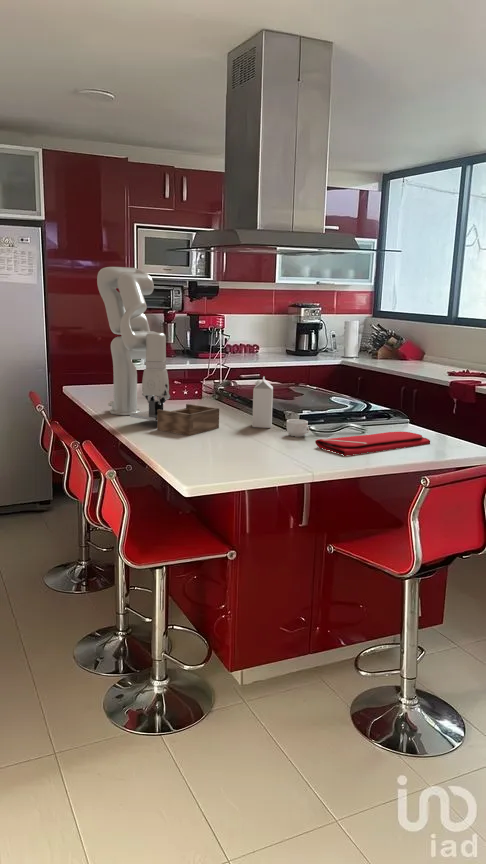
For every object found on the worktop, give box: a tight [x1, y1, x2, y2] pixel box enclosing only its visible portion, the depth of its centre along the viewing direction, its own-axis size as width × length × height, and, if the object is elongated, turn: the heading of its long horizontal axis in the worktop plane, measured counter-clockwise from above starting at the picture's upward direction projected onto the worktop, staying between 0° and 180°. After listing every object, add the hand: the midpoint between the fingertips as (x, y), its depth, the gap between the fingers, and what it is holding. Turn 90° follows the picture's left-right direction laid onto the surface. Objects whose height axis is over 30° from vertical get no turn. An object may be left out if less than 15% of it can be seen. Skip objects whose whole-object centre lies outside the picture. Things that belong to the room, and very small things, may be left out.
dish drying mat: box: [315, 431, 431, 457], centre depth 239 cm, size 16×41×4 cm, turn 125°
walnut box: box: [156, 403, 220, 436], centre depth 257 cm, size 15×18×8 cm
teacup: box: [286, 418, 310, 438], centre depth 250 cm, size 10×8×5 cm
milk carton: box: [251, 375, 274, 429], centre depth 265 cm, size 7×7×19 cm
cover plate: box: [129, 399, 158, 422], centre depth 265 cm, size 13×15×6 cm
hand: (156, 413), depth 265 cm, fingers closed on cover plate, 3 cm apart
